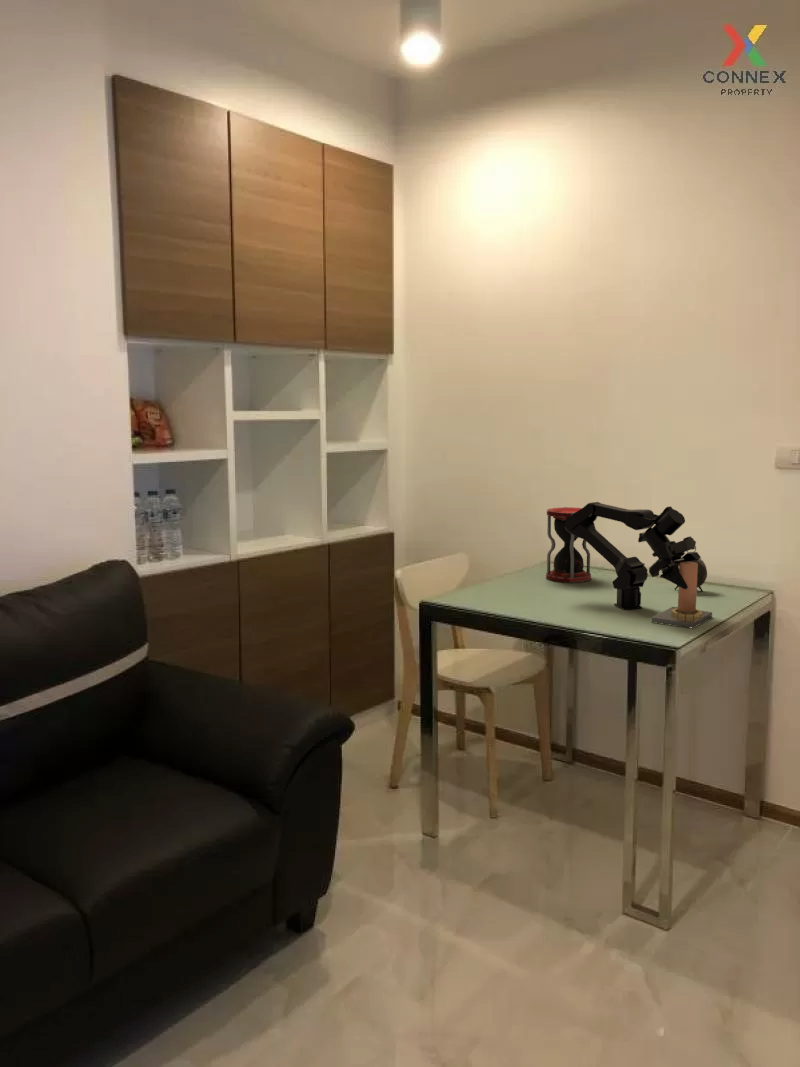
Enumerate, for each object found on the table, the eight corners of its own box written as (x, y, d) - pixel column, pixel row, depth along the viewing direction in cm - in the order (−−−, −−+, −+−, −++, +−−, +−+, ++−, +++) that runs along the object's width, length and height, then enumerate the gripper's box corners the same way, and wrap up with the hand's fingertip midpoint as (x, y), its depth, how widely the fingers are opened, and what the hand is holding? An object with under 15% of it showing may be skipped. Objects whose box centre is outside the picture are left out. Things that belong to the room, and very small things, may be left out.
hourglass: (542, 574, 327) (543, 507, 324) (586, 573, 327) (587, 506, 323) (549, 583, 311) (550, 513, 308) (595, 582, 311) (596, 512, 307)
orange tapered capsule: (677, 611, 257) (679, 564, 255) (678, 607, 262) (680, 561, 259) (695, 612, 255) (697, 565, 253) (695, 608, 260) (697, 562, 258)
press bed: (692, 628, 249) (692, 619, 248) (651, 622, 256) (651, 614, 256) (711, 617, 261) (712, 608, 261) (672, 611, 269) (672, 603, 268)
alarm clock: (705, 590, 297) (707, 542, 294) (706, 593, 291) (708, 545, 289) (671, 589, 299) (673, 541, 297) (672, 592, 294) (673, 544, 292)
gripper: (659, 531, 252) (691, 575, 245) (696, 524, 264) (728, 566, 257) (635, 554, 259) (666, 598, 253) (672, 547, 271) (702, 588, 264)
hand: (691, 587), depth 256 cm, fingers closed on orange tapered capsule, 5 cm apart
